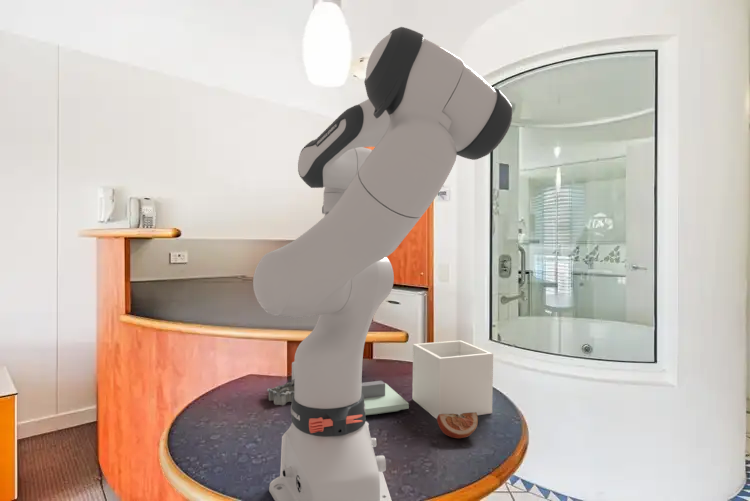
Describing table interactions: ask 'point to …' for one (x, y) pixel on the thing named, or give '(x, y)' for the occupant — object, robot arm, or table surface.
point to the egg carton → (282, 393)
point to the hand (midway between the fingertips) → (340, 261)
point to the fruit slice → (458, 424)
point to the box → (452, 378)
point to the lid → (381, 398)
